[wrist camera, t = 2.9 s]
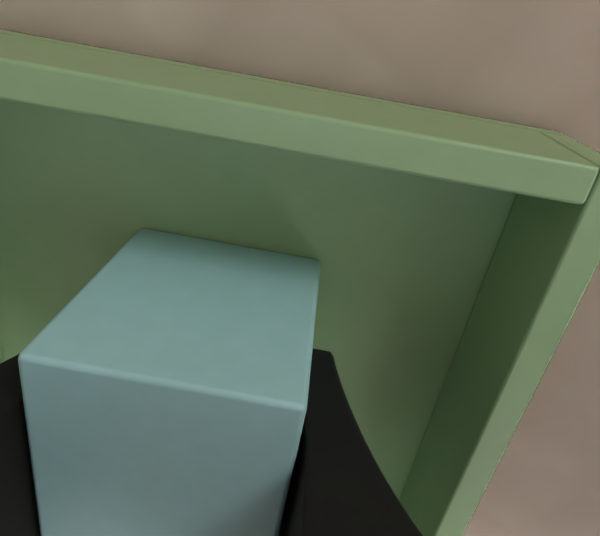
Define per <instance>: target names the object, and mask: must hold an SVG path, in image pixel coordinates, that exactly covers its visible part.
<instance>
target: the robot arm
mask: <svg viewBox="0 0 600 536" xmlns="http://www.w3.org/2000/svg"><path fill="white" fill-rule="evenodd" d="M19 355H20V354H18V355H16V356H14V357H12V358H10V359H8V360H6V361H4V362H2V363H0V536H41V534H40V526H39V518H38V511H37V503H36V495H35V488H34V480H33V472H32V465H31V457H30V450H29V442H28V434H27V427H26V419H25V411H24V404H23V396H22V388H21V381H20V373H19V365H18V357H19ZM279 536H423V535H422V534H421V532H420V531H419V530H418V528H417V527H416V525H415V524H414V523H413V521H412V520H411V518H410V517H409V515H408V513H407V512H406V510H405V509H404V507H403V506H402V504H401V503H400V501H399V500H398V498H397V497H396V495H395V493H394V492H393V490H392V488H391V487H390V485H389V484H388V482H387V480H386V478H385V477H384V475H383V473H382V471H381V470H380V468H379V466H378V464H377V462H376V461H375V459H374V457H373V455H372V453H371V451H370V449H369V447H368V445H367V443H366V441H365V439H364V437H363V435H362V433H361V431H360V428H359V426H358V424H357V422H356V419H355V417H354V415H353V412H352V410H351V408H350V405H349V403H348V400H347V398H346V395H345V392H344V390H343V387H342V384H341V381H340V378H339V375H338V372H337V368H336V364H335V360H334V356H333V355H332V354H331V352H330V351H325V350H319V349H314V348H313V350H312V361H311V372H310V382H309V393H308V403H307V411H306V415H305V420H304V424H303V429H302V433H301V437H300V442H299V446H298V451H297V455H296V460H295V464H294V469H293V473H292V477H291V482H290V486H289V491H288V495H287V500H286V504H285V508H284V513H283V517H282V522H281V526H280V531H279Z"/></svg>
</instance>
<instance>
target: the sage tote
mask: <svg viewBox="0 0 600 536" xmlns="http://www.w3.org/2000/svg"><path fill="white" fill-rule="evenodd" d="M140 229H149V230H155V231H160V232H166V233H171V234H177V235H182V236H188V237H193V238H199V239H204V240H210V241H215V242H221V243H226V244H232V245H237V246H243V247H248V248H254V249H259V250H265V251H270V252H276V253H281V254H287V255H292V256H298V257H303V258H308V259H314V260H318V261H320V265H321V266H320V277H319V287H318V298H317V308H316V319H315V329H314V340H313V348H314V349H319V350H325V351H330V352H331V354H332V355H333V356H334V360H335V364H336V368H337V372H338V375H339V378H340V381H341V384H342V387H343V390H344V392H345V395H346V398H347V400H348V403H349V405H350V408H351V410H352V412H353V415H354V417H355V419H356V422H357V424H358V426H359V428H360V431H361V433H362V435H363V437H364V439H365V441H366V443H367V445H368V447H369V449H370V451H371V453H372V455H373V457H374V459H375V461H376V462H377V464H378V466H379V468H380V470H381V471H382V473H383V475H384V477H385V478H386V480H387V482H388V484H389V485H390V487H391V488H392V490H393V492H394V493H395V495H396V497H397V498H398V500H399V501H400V503H401V504H402V506H403V507H404V509H405V510H406V512H407V513H408V515H409V517H410V518H411V520H412V521H413V523H414V524H415V525H416V527H417V528H418V530H419V531H420V532H421V534H422V535H423V536H463V534H464V532H465V530H466V528H467V526H468V524H469V522H470V520H471V518H472V516H473V514H474V512H475V510H476V508H477V506H478V504H479V502H480V500H481V498H482V496H483V494H484V492H485V490H486V488H487V486H488V484H489V482H490V480H491V478H492V476H493V474H494V472H495V470H496V468H497V466H498V464H499V462H500V460H501V458H502V456H503V454H504V452H505V450H506V448H507V446H508V444H509V442H510V440H511V438H512V436H513V434H514V432H515V430H516V428H517V426H518V424H519V422H520V420H521V418H522V416H523V414H524V412H525V410H526V408H527V406H528V404H529V402H530V400H531V398H532V396H533V394H534V392H535V390H536V388H537V386H538V384H539V382H540V380H541V378H542V376H543V374H544V372H545V370H546V368H547V366H548V364H549V362H550V360H551V358H552V356H553V354H554V352H555V350H556V348H557V346H558V344H559V342H560V340H561V338H562V336H563V334H564V332H565V330H566V328H567V326H568V324H569V322H570V320H571V318H572V316H573V314H574V312H575V310H576V308H577V306H578V304H579V302H580V300H581V298H582V296H583V294H584V292H585V290H586V288H587V286H588V284H589V282H590V280H591V278H592V276H593V274H594V272H595V270H596V268H597V266H598V264H599V262H600V153H599V152H597V151H595V150H593V149H591V148H589V147H587V146H585V145H583V144H582V143H580V142H578V141H576V140H574V139H572V138H570V137H568V136H566V135H564V134H562V133H560V132H558V131H552V130H547V129H541V128H536V127H530V126H525V125H519V124H514V123H508V122H503V121H497V120H492V119H487V118H481V117H476V116H470V115H465V114H459V113H454V112H448V111H443V110H437V109H432V108H427V107H421V106H416V105H410V104H405V103H399V102H394V101H388V100H383V99H377V98H372V97H367V96H361V95H356V94H350V93H345V92H339V91H334V90H328V89H323V88H317V87H312V86H306V85H301V84H296V83H290V82H285V81H279V80H274V79H268V78H263V77H257V76H252V75H246V74H241V73H236V72H230V71H225V70H219V69H214V68H208V67H203V66H197V65H192V64H186V63H181V62H176V61H170V60H165V59H159V58H154V57H148V56H143V55H137V54H132V53H126V52H121V51H116V50H110V49H105V48H99V47H94V46H88V45H83V44H77V43H72V42H66V41H61V40H55V39H50V38H45V37H39V36H34V35H28V34H23V33H17V32H12V31H6V30H1V29H0V363H2V362H4V361H6V360H8V359H10V358H12V357H14V356H16V355H18V354H20V352H21V351H22V350H23V349H24V348H25V347H26V346H27V345H28V344H29V343H30V342H31V341H32V340H33V339H34V338H35V337H36V336H37V335H38V334H39V333H40V332H41V331H42V330H43V329H44V328H45V327H46V326H47V325H48V324H49V323H50V322H51V321H52V319H53V318H54V317H55V316H56V315H57V314H58V313H59V312H60V311H61V310H62V309H63V308H64V307H65V306H66V305H67V304H68V303H69V302H70V301H71V300H72V299H73V298H74V297H75V296H76V295H77V294H78V293H79V292H80V291H81V290H82V289H83V288H84V286H85V285H86V284H87V283H88V282H89V281H90V280H91V279H92V278H93V277H94V276H95V275H96V274H97V273H98V272H99V271H100V270H101V269H102V268H103V267H104V266H105V265H106V264H107V263H108V262H109V261H110V260H111V259H112V258H113V257H114V256H115V255H116V254H117V252H118V251H119V250H120V249H121V248H122V247H123V246H124V245H125V244H126V243H127V242H128V241H129V240H130V239H131V238H132V237H133V236H134V235H135V234H136V233H137V232H138V231H139V230H140ZM278 536H279V535H278Z"/></svg>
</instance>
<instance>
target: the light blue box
mask: <svg viewBox="0 0 600 536" xmlns="http://www.w3.org/2000/svg"><path fill="white" fill-rule="evenodd" d="M320 266H321V265H320V261H318V260H314V259H308V258H303V257H298V256H292V255H287V254H281V253H276V252H270V251H265V250H259V249H254V248H248V247H243V246H237V245H232V244H226V243H221V242H215V241H210V240H204V239H199V238H193V237H188V236H182V235H177V234H171V233H166V232H160V231H155V230H149V229H140V230H139V231H138V232H137V233H136V234H135V235H134V236H133V237H132V238H131V239H130V240H129V241H128V242H127V243H126V244H125V245H124V246H123V247H122V248H121V249H120V250H119V251H118V252H117V254H116V255H115V256H114V257H113V258H112V259H111V260H110V261H109V262H108V263H107V264H106V265H105V266H104V267H103V268H102V269H101V270H100V271H99V272H98V273H97V274H96V275H95V276H94V277H93V278H92V279H91V280H90V281H89V282H88V283H87V284H86V285H85V286H84V288H83V289H82V290H81V291H80V292H79V293H78V294H77V295H76V296H75V297H74V298H73V299H72V300H71V301H70V302H69V303H68V304H67V305H66V306H65V307H64V308H63V309H62V310H61V311H60V312H59V313H58V314H57V315H56V316H55V317H54V318H53V319H52V321H51V322H50V323H49V324H48V325H47V326H46V327H45V328H44V329H43V330H42V331H41V332H40V333H39V334H38V335H37V336H36V337H35V338H34V339H33V340H32V341H31V342H30V343H29V344H28V345H27V346H26V347H25V348H24V349H23V350H22V351H21V352H20V355H19V357H18V365H19V373H20V381H21V388H22V396H23V404H24V411H25V419H26V427H27V434H28V442H29V450H30V457H31V465H32V472H33V480H34V488H35V495H36V503H37V511H38V518H39V526H40V534H41V536H278V535H279V531H280V526H281V522H282V517H283V513H284V508H285V504H286V500H287V495H288V491H289V486H290V482H291V477H292V473H293V469H294V464H295V460H296V455H297V451H298V446H299V442H300V437H301V433H302V429H303V424H304V420H305V415H306V411H307V403H308V393H309V382H310V372H311V361H312V350H313V340H314V329H315V319H316V308H317V298H318V287H319V277H320Z"/></svg>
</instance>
